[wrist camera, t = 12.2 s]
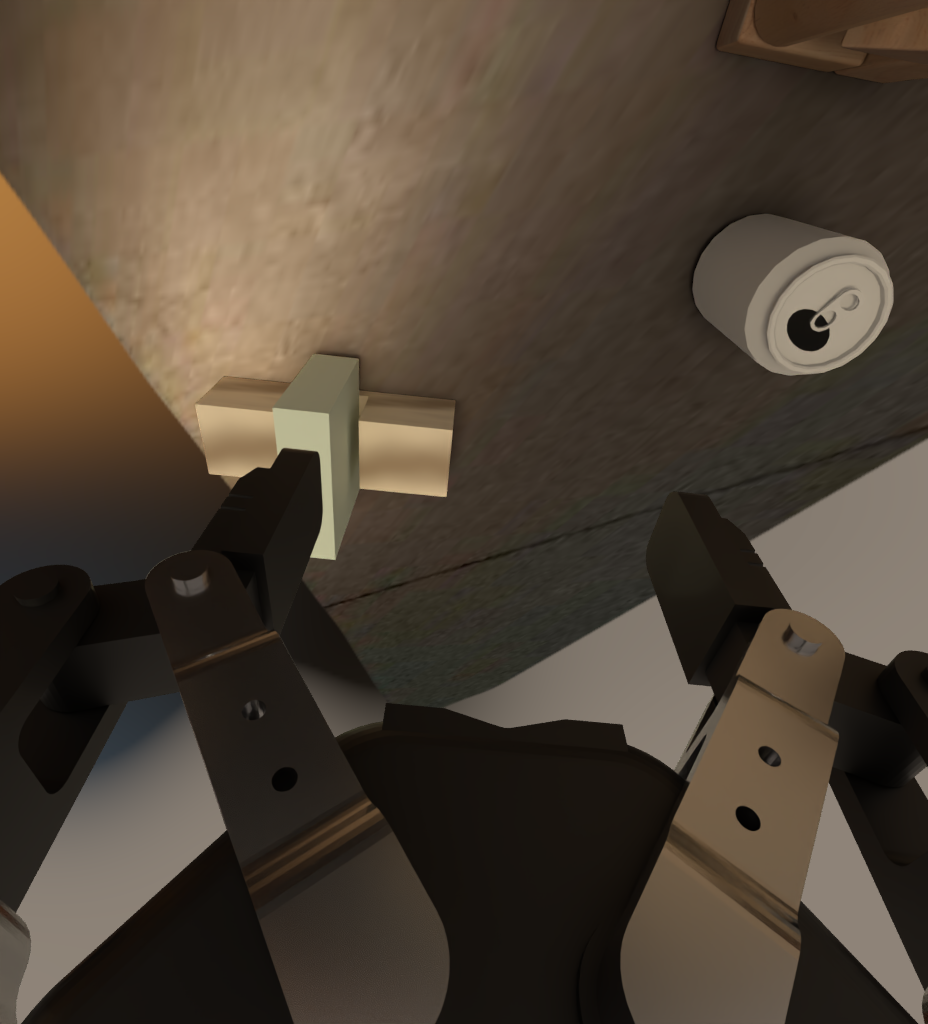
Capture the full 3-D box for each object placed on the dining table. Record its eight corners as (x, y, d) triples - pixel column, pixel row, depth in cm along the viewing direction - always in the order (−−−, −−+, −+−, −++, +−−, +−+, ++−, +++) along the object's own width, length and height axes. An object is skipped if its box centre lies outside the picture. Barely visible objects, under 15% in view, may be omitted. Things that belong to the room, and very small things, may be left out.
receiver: (224, 376, 44) (194, 404, 40) (455, 400, 45) (452, 430, 40) (235, 441, 48) (209, 473, 43) (449, 462, 48) (446, 497, 44)
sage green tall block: (313, 353, 42) (272, 407, 34) (358, 358, 42) (328, 413, 34) (321, 483, 49) (288, 555, 40) (360, 488, 49) (335, 559, 41)
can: (666, 280, 39) (728, 330, 29) (757, 185, 35) (861, 206, 26) (730, 345, 41) (807, 411, 32) (821, 262, 38) (938, 308, 28)
